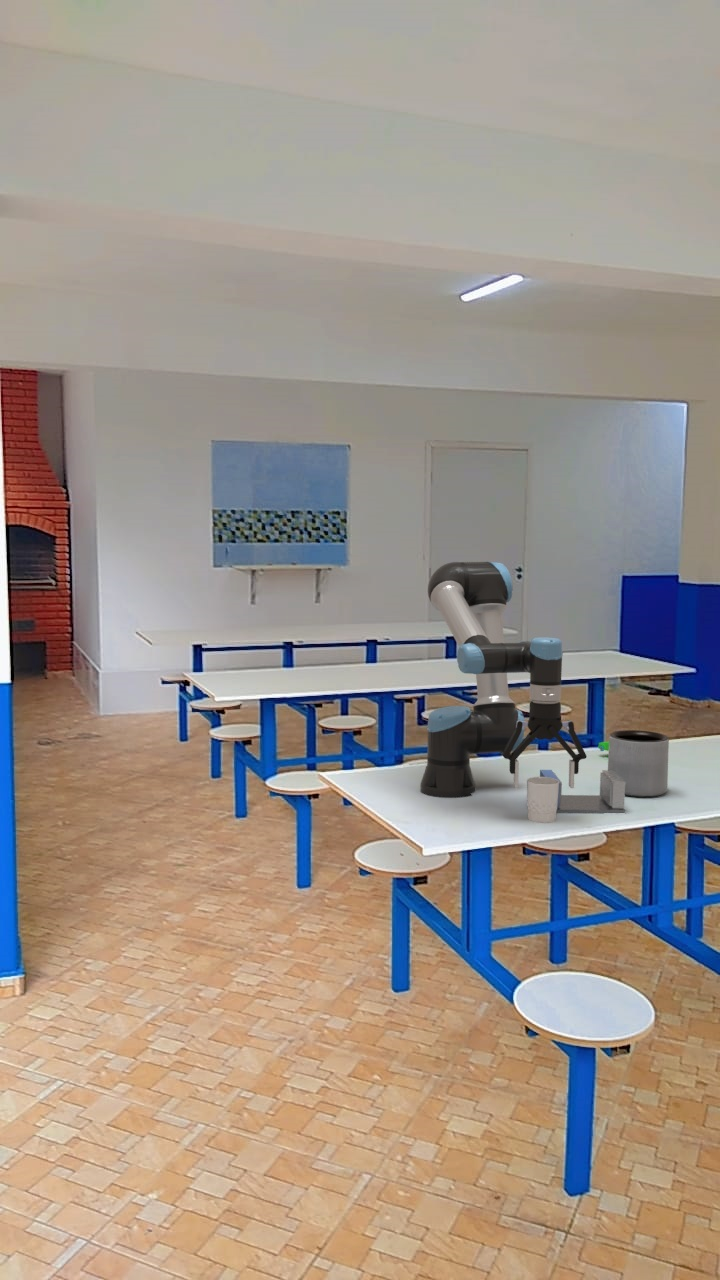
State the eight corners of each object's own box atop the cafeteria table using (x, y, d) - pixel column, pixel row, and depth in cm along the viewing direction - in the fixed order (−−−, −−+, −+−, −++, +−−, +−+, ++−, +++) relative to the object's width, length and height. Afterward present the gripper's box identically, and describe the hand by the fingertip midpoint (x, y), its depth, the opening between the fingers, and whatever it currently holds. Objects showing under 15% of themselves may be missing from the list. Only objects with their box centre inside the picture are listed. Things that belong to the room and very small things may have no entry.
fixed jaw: (609, 808, 255) (610, 781, 254) (599, 796, 267) (600, 770, 266) (624, 808, 255) (625, 781, 254) (612, 796, 267) (613, 770, 266)
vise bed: (537, 813, 255) (537, 809, 254) (529, 798, 268) (529, 794, 268) (625, 814, 254) (625, 810, 254) (611, 799, 268) (611, 795, 268)
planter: (649, 782, 287) (651, 728, 285) (678, 797, 271) (680, 740, 269) (596, 785, 283) (598, 730, 281) (623, 800, 268) (625, 742, 266)
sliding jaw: (547, 807, 255) (547, 780, 255) (539, 795, 267) (540, 769, 267) (561, 808, 255) (562, 781, 255) (552, 795, 267) (553, 769, 266)
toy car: (637, 754, 324) (638, 733, 323) (623, 756, 320) (623, 736, 319) (611, 748, 333) (611, 728, 332) (596, 750, 329) (597, 730, 328)
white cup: (524, 815, 253) (525, 776, 252) (556, 816, 252) (557, 777, 251) (526, 824, 245) (527, 784, 244) (559, 825, 244) (560, 785, 243)
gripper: (495, 703, 242) (494, 790, 244) (600, 703, 241) (597, 790, 243) (492, 698, 249) (490, 782, 251) (593, 699, 249) (591, 783, 251)
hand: (543, 786), depth 247 cm, fingers open, 13 cm apart
